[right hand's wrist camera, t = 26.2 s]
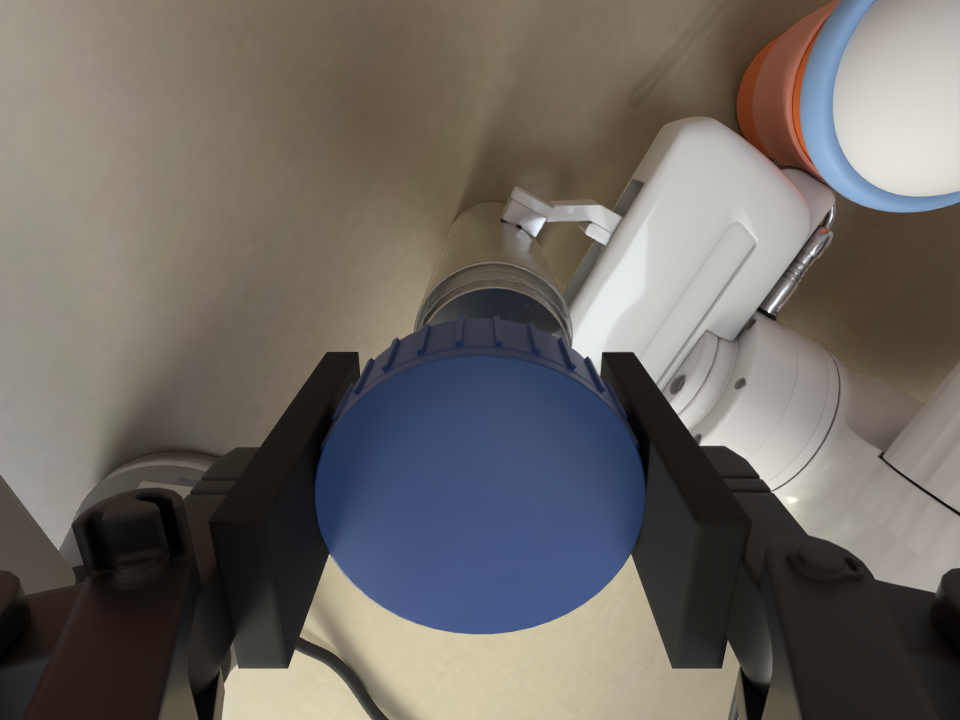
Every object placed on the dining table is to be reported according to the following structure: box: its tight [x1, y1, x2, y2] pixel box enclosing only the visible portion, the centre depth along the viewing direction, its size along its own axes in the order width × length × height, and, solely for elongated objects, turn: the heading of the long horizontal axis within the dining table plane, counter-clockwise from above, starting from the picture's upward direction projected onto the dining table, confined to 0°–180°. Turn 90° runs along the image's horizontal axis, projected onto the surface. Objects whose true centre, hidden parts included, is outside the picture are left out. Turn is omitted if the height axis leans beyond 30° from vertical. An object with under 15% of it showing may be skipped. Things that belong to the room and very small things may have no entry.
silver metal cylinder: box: [414, 202, 573, 348], centre depth 25 cm, size 5×5×18 cm
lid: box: [314, 316, 646, 634], centre depth 11 cm, size 6×6×2 cm
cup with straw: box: [737, 0, 960, 213], centre depth 21 cm, size 9×9×18 cm
